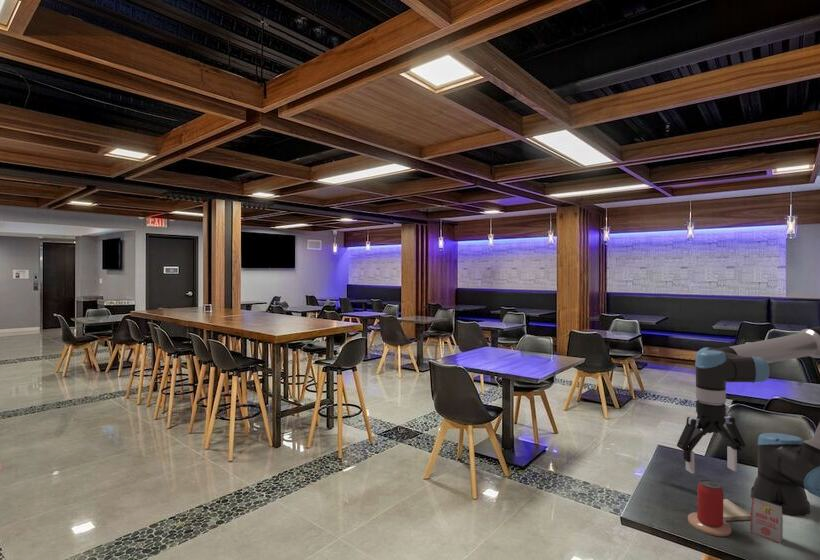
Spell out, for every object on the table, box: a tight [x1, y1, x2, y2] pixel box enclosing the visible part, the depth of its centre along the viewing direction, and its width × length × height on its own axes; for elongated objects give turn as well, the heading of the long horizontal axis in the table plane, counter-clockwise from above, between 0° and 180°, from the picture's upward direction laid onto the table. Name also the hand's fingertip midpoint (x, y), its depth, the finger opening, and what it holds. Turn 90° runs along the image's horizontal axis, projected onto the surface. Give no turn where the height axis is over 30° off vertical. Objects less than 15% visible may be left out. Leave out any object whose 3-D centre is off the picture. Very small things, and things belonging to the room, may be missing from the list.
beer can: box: [696, 478, 724, 527], centre depth 132 cm, size 7×7×12 cm
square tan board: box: [723, 498, 751, 522], centre depth 140 cm, size 10×10×1 cm
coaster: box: [687, 511, 733, 537], centre depth 132 cm, size 11×11×1 cm
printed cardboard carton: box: [750, 498, 784, 544], centre depth 127 cm, size 4×7×10 cm, turn 40°
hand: (711, 470), depth 132 cm, fingers open, 13 cm apart
